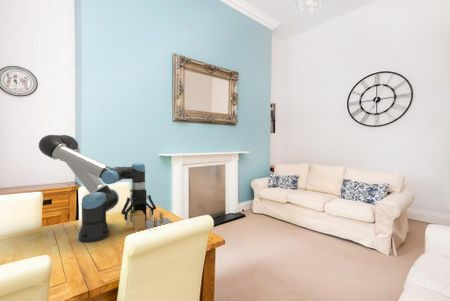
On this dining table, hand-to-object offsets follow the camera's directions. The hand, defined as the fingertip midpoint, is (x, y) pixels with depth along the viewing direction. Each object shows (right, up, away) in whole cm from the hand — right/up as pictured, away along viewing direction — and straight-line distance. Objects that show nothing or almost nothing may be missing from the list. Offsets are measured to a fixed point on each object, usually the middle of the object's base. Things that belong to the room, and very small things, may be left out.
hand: (139, 222), depth 143 cm
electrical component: (-7, -2, +18) cm, 20 cm away
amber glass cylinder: (+9, -3, +2) cm, 10 cm away
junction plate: (+10, -3, +6) cm, 12 cm away
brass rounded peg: (+11, -3, +11) cm, 15 cm away
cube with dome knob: (0, -3, 0) cm, 3 cm away
